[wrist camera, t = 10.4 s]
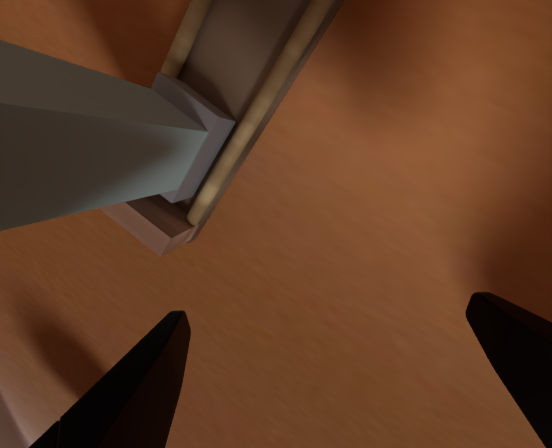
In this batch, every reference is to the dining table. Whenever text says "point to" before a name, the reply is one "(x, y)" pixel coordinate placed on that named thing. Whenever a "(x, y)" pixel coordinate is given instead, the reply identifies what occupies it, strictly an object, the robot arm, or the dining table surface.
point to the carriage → (96, 138)
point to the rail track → (228, 96)
